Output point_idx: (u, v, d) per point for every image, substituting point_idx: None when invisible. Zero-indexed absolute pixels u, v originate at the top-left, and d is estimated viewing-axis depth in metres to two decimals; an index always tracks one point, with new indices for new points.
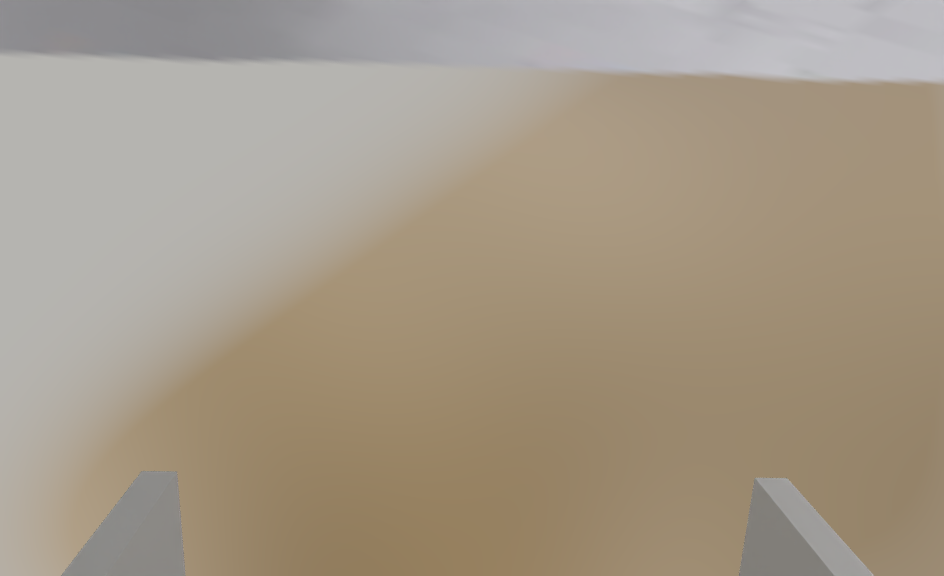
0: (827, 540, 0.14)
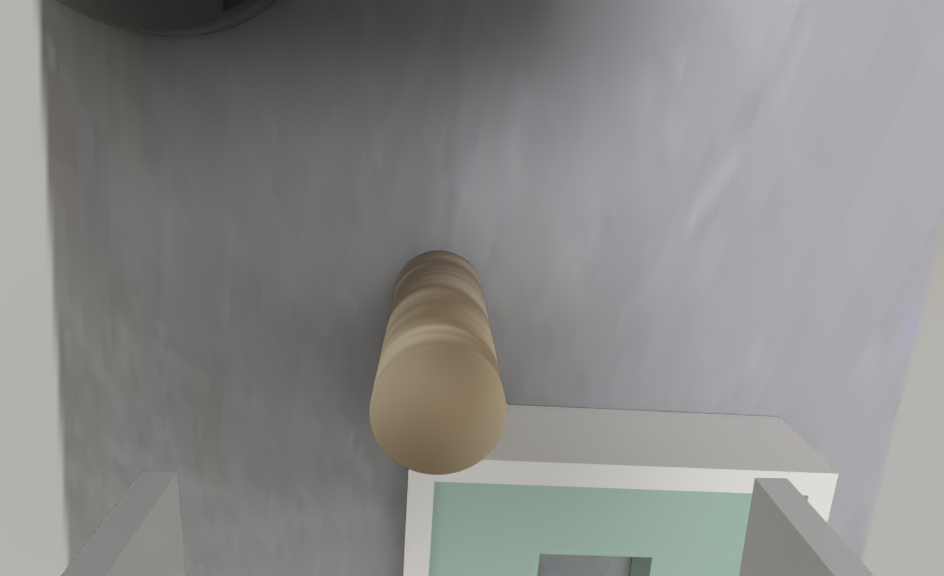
0: (827, 540, 0.14)
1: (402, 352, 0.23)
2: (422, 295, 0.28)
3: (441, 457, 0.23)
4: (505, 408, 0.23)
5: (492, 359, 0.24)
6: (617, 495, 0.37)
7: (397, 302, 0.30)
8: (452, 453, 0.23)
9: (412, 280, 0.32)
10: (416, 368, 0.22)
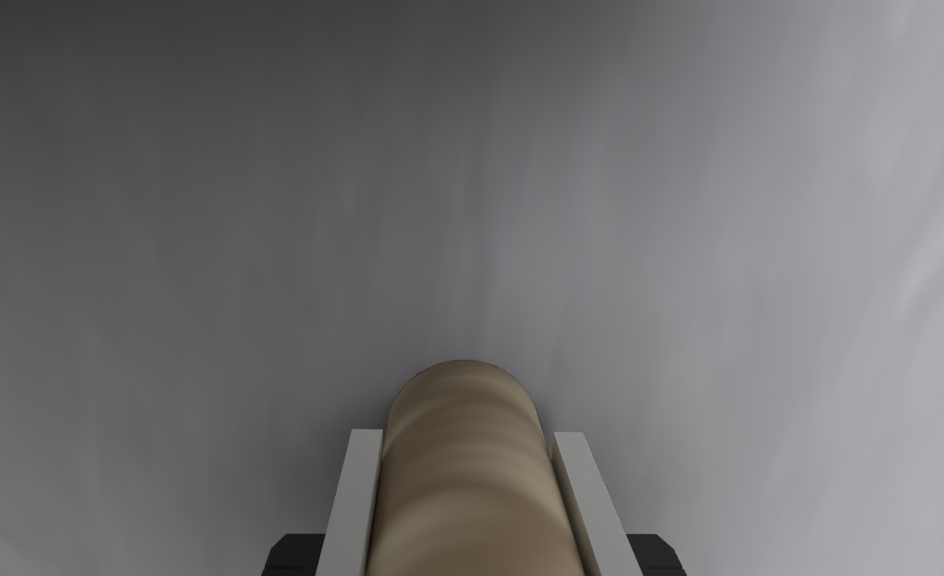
0: (589, 480, 0.16)
1: None
2: (440, 520, 0.13)
3: None
4: None
5: None
6: None
7: (386, 514, 0.14)
8: None
9: (416, 450, 0.16)
10: None
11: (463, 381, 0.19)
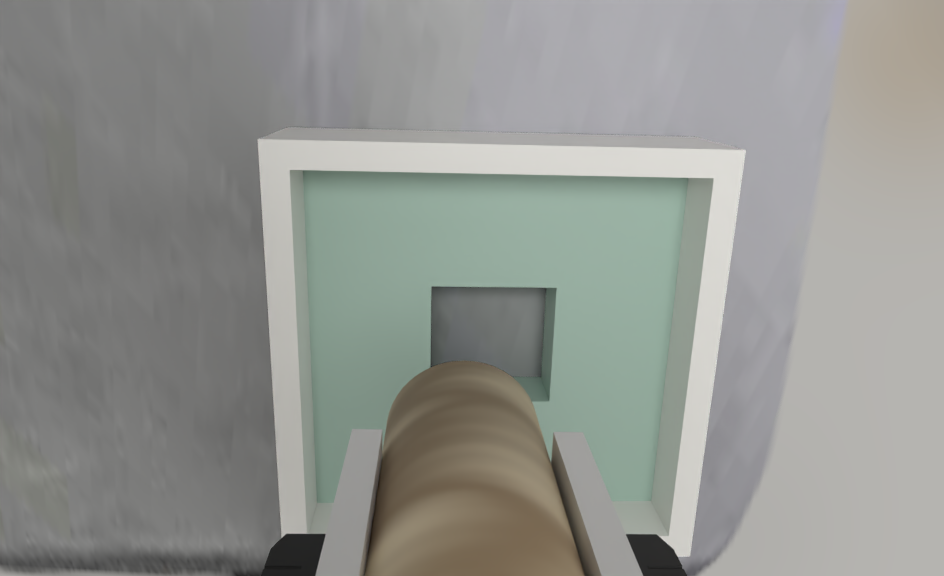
0: (589, 480, 0.16)
1: None
2: (439, 522, 0.13)
3: None
4: None
5: None
6: (511, 212, 0.33)
7: (385, 515, 0.14)
8: None
9: (415, 450, 0.16)
10: None
11: (462, 382, 0.19)
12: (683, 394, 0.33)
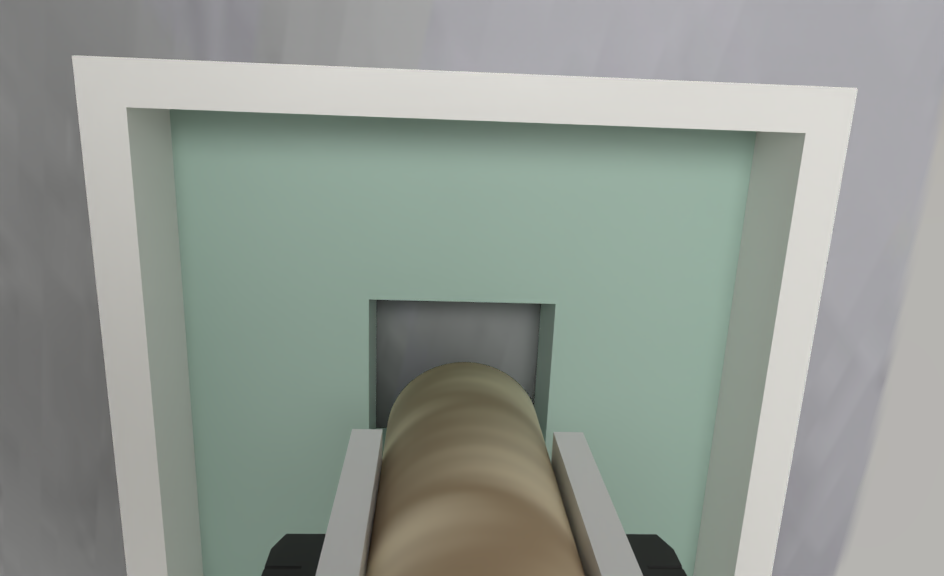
0: (589, 480, 0.16)
1: None
2: (440, 524, 0.13)
3: None
4: None
5: None
6: (488, 189, 0.22)
7: (386, 517, 0.14)
8: None
9: (416, 452, 0.16)
10: None
11: (463, 383, 0.19)
12: (744, 467, 0.22)
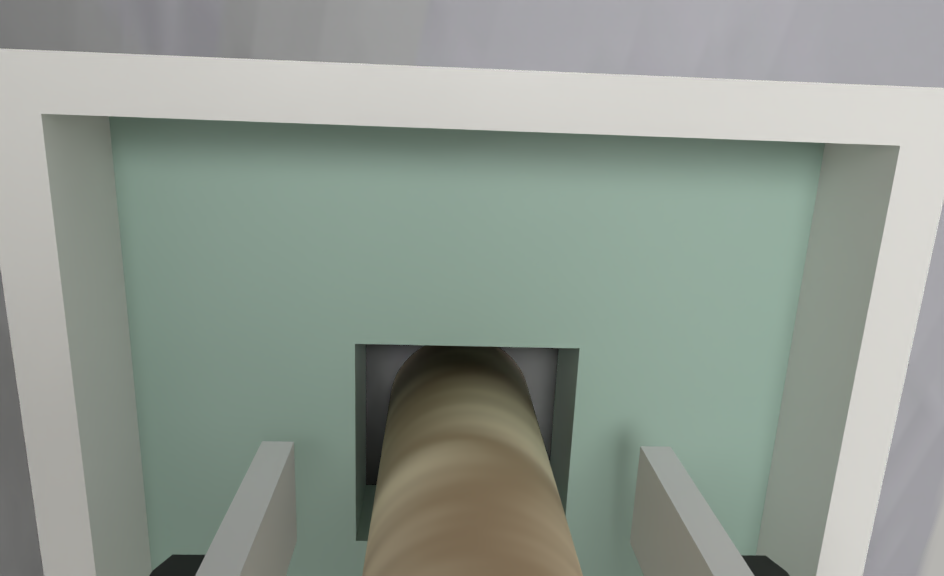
0: (690, 499, 0.15)
1: None
2: (437, 464, 0.15)
3: None
4: None
5: None
6: (499, 211, 0.18)
7: (390, 464, 0.16)
8: None
9: (416, 411, 0.18)
10: None
11: (459, 354, 0.21)
12: (810, 548, 0.18)
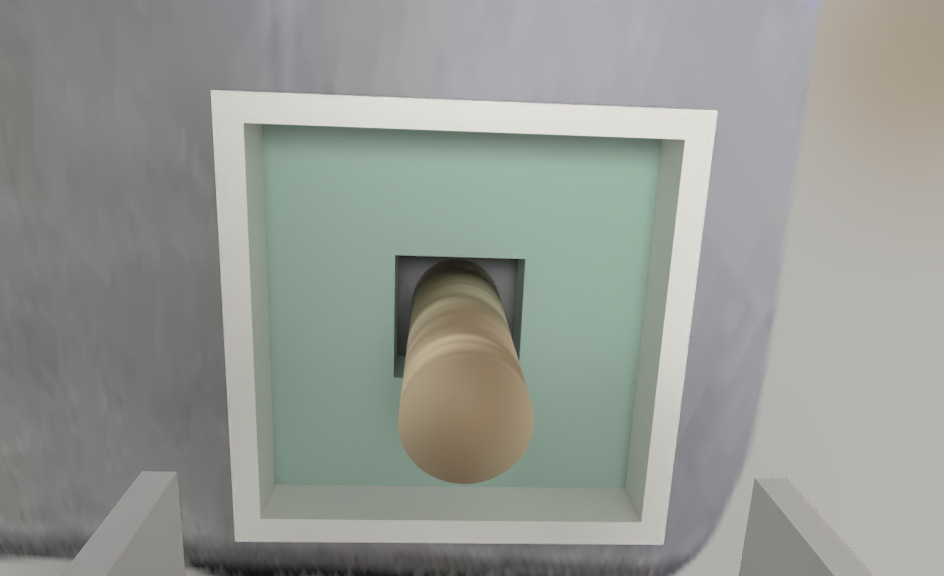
0: (827, 540, 0.14)
1: (428, 363, 0.23)
2: (444, 304, 0.29)
3: (470, 466, 0.23)
4: (532, 415, 0.23)
5: (517, 367, 0.24)
6: (478, 178, 0.32)
7: (417, 312, 0.30)
8: (481, 462, 0.23)
9: (431, 290, 0.32)
10: (443, 378, 0.23)
11: (455, 266, 0.35)
12: (655, 370, 0.32)
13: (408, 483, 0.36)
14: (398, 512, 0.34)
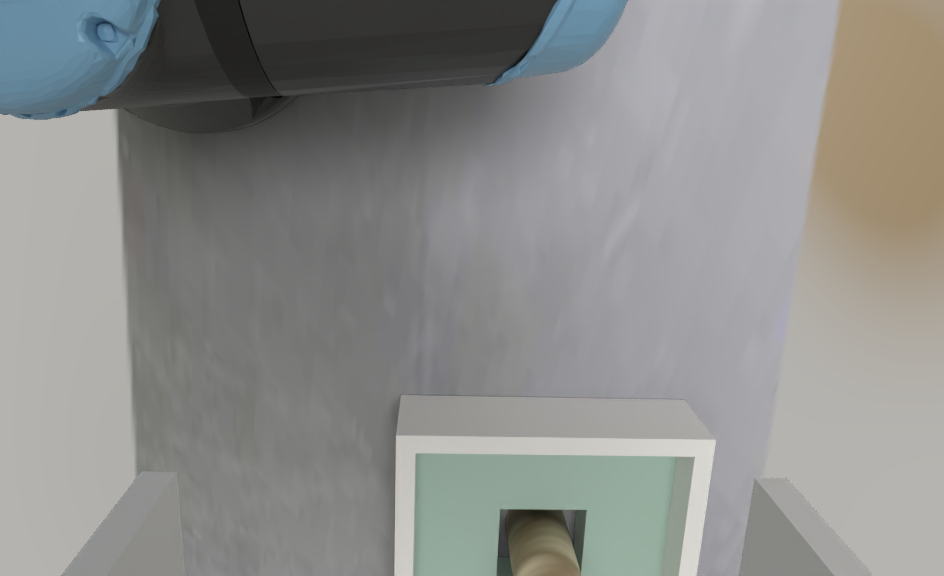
0: (827, 540, 0.14)
1: None
2: (540, 564, 0.45)
3: None
4: None
5: None
6: (556, 462, 0.48)
7: (520, 560, 0.46)
8: None
9: (526, 537, 0.48)
10: None
11: None
12: None
13: None
14: None
